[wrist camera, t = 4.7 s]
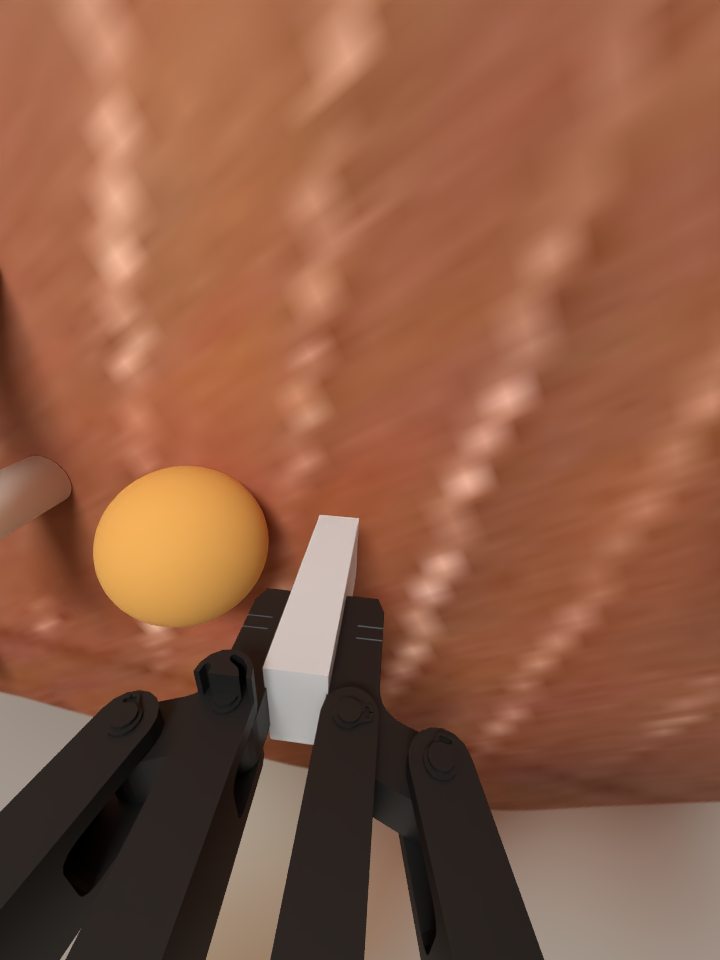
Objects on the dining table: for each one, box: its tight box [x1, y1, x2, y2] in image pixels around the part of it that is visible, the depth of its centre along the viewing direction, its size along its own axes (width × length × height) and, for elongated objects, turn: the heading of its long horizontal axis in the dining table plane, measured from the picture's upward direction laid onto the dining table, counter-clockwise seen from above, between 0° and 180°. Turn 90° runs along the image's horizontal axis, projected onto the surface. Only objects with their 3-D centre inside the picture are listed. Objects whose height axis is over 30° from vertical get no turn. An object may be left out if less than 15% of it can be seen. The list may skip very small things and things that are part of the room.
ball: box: [93, 466, 269, 627], centre depth 15 cm, size 6×6×6 cm
